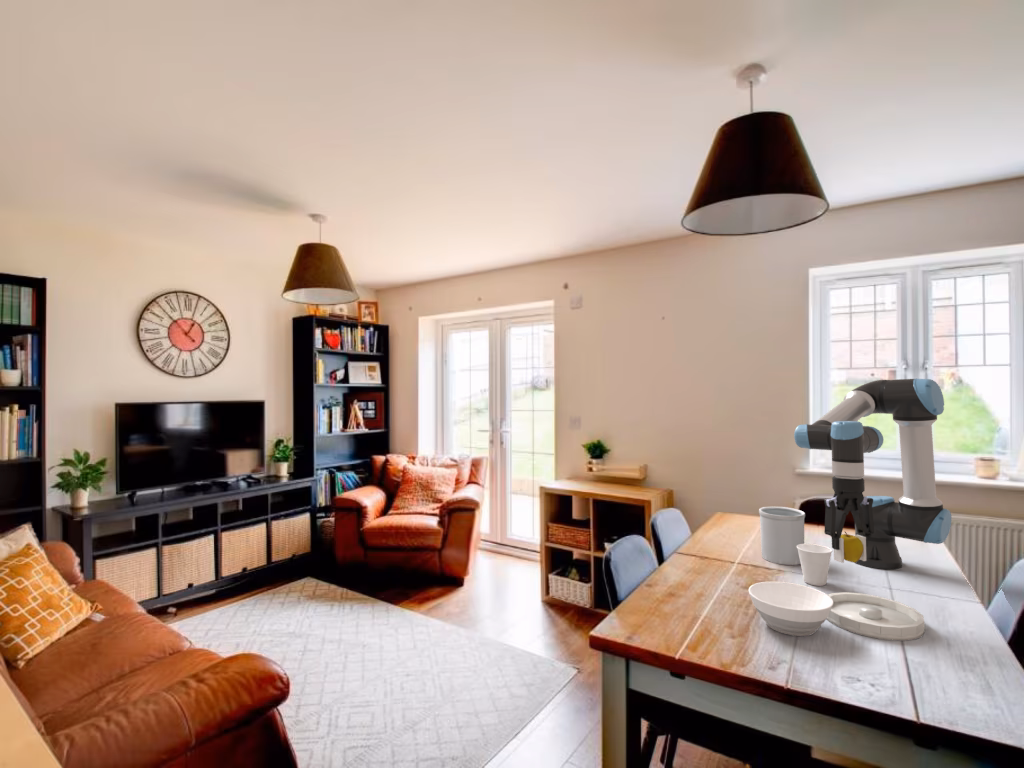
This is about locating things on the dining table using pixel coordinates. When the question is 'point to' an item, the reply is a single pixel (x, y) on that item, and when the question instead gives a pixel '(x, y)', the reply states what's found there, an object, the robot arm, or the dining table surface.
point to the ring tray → (880, 629)
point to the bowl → (791, 607)
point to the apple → (852, 547)
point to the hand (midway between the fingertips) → (850, 560)
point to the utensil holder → (781, 534)
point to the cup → (814, 563)
